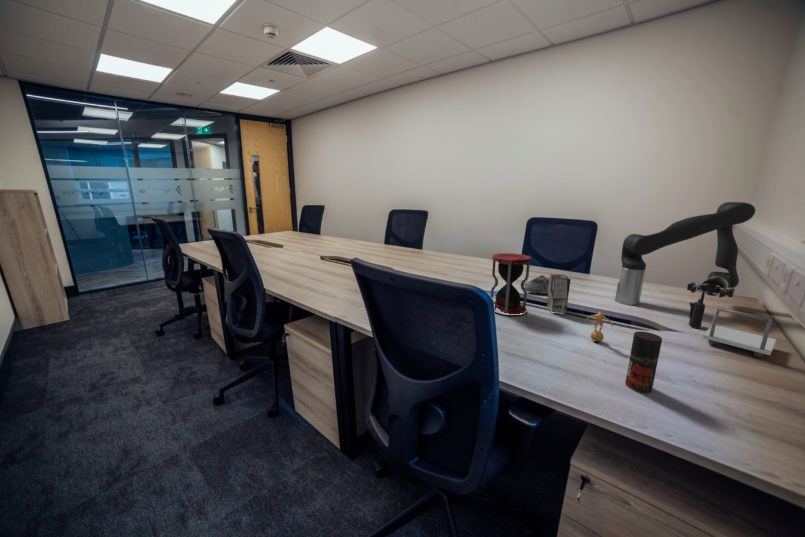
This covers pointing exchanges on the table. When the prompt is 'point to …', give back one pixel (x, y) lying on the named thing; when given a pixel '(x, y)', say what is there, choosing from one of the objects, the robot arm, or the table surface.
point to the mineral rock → (538, 285)
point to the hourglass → (510, 282)
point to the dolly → (741, 335)
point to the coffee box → (558, 293)
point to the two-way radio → (697, 312)
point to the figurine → (596, 334)
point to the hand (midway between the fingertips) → (706, 292)
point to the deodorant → (643, 361)
